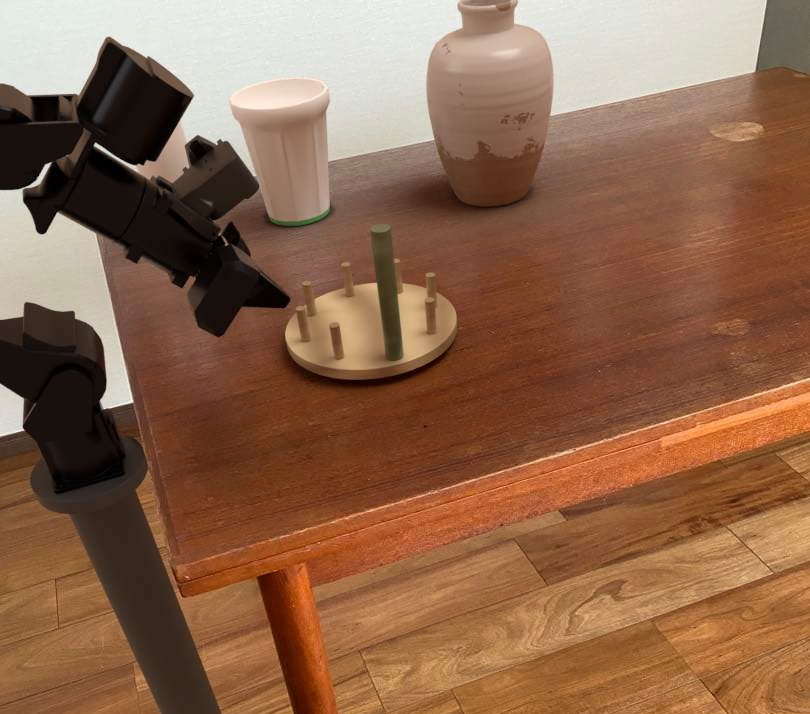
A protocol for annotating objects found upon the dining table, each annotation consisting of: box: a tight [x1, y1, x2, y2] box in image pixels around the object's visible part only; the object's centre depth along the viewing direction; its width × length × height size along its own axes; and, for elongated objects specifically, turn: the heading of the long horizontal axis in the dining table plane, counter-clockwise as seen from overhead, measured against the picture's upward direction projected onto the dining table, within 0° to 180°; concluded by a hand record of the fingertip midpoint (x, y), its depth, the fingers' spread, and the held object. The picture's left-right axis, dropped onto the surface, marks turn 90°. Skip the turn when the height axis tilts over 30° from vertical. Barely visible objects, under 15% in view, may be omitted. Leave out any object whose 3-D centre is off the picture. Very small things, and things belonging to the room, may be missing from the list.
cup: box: [228, 77, 331, 227], centre depth 115 cm, size 12×12×15 cm
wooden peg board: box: [284, 223, 458, 381], centre depth 88 cm, size 18×18×14 cm
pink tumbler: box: [135, 120, 189, 183], centre depth 111 cm, size 7×7×15 cm
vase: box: [425, 0, 555, 207], centre depth 112 cm, size 16×16×23 cm
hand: (287, 302), depth 79 cm, fingers closed
